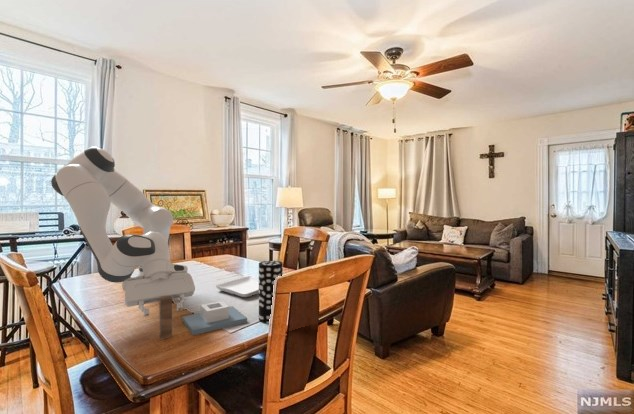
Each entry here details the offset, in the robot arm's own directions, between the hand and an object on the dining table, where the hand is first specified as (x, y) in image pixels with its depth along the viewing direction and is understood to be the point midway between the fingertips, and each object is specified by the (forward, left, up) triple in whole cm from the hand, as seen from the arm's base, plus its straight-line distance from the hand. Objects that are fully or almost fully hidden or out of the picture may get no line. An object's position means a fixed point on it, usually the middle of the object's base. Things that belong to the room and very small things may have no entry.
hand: (163, 312), depth 96 cm
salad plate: (-31, +41, -8) cm, 51 cm away
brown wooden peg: (0, +1, -8) cm, 8 cm away
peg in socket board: (-3, +17, -7) cm, 18 cm away
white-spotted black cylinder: (+6, +34, -8) cm, 35 cm away
